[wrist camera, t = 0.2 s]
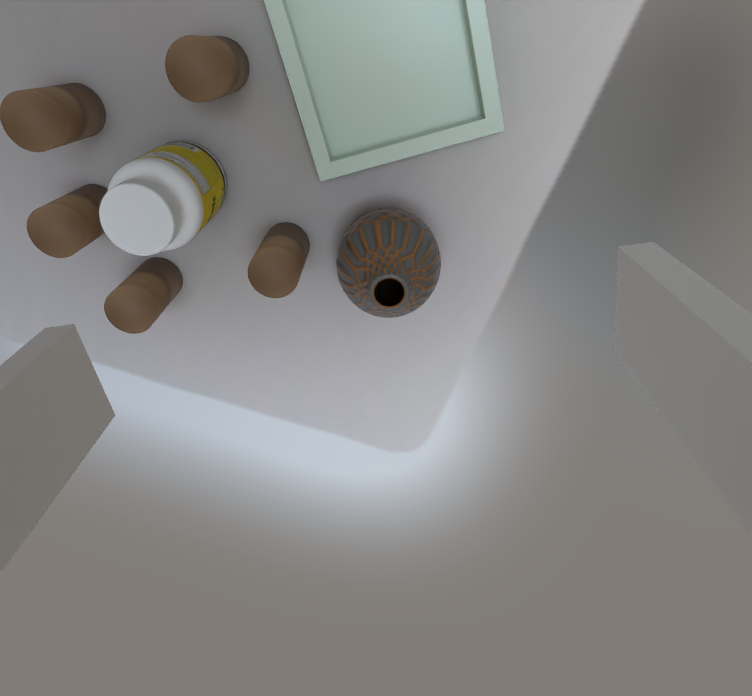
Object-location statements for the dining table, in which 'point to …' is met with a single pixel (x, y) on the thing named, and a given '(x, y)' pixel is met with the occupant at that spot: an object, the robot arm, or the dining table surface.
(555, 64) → the dining table surface
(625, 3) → the dining table surface
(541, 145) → the dining table surface
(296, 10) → the tray
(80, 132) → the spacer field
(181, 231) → the supplement bottle
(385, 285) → the vase
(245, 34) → the dining table surface
